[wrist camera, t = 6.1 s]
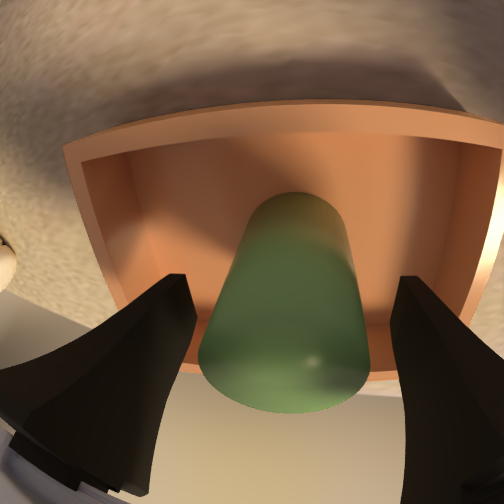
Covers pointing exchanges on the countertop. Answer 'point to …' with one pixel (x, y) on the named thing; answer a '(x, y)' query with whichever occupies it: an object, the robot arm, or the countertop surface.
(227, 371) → the cucumber piece
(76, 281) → the countertop surface
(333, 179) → the terracotta bin
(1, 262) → the unicorn horn
